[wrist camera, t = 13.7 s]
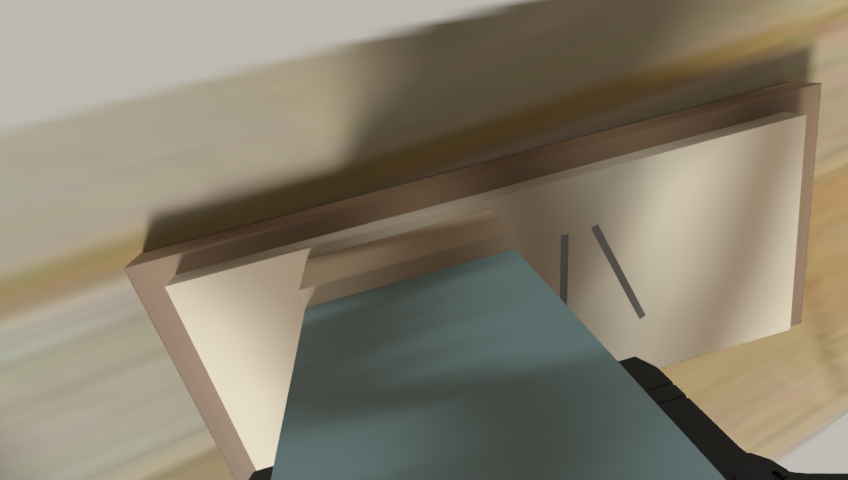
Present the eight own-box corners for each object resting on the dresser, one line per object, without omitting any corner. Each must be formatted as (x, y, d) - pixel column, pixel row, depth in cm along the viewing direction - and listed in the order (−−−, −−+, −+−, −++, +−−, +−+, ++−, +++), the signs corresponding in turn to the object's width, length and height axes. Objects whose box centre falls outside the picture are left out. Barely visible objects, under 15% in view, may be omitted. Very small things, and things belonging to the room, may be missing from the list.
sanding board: (246, 461, 18) (233, 506, 16) (141, 253, 15) (110, 280, 13) (774, 308, 19) (820, 334, 17) (788, 82, 16) (847, 83, 14)
